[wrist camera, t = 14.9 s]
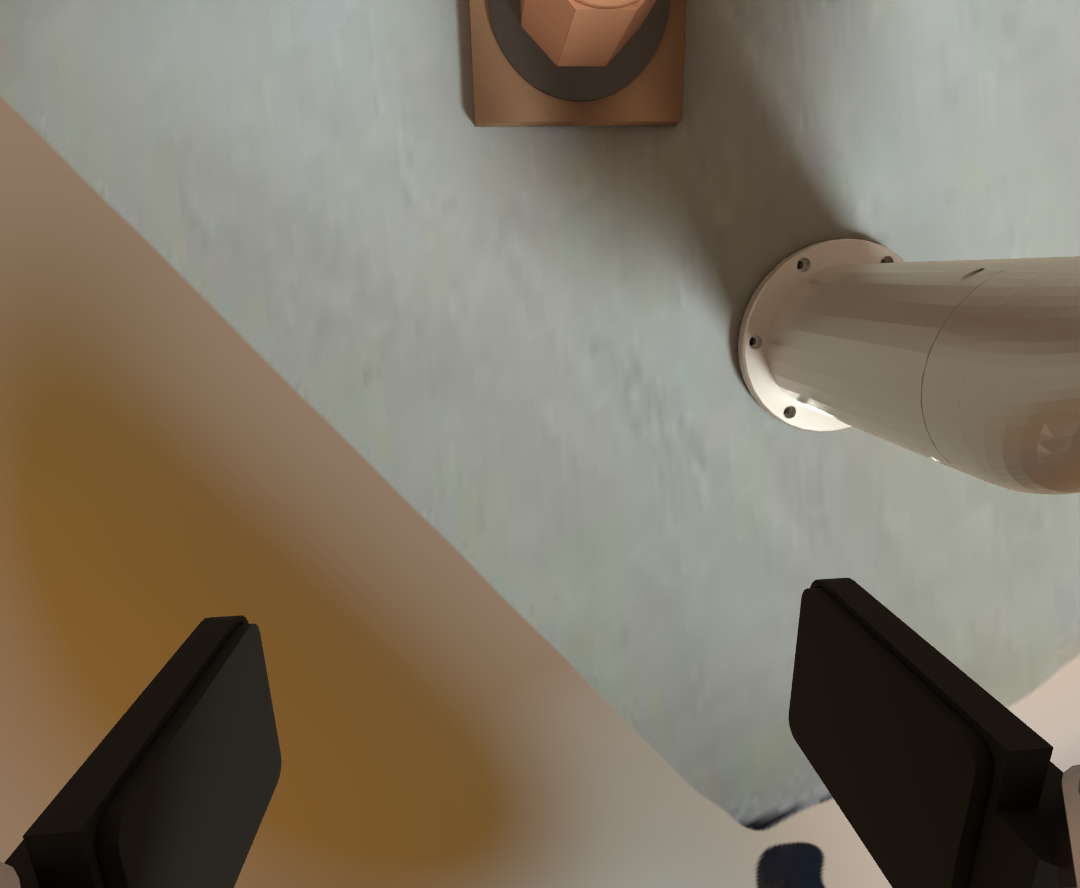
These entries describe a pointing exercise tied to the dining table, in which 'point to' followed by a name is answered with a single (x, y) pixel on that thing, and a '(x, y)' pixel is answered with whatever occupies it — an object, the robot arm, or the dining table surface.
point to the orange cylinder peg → (583, 28)
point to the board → (576, 74)
